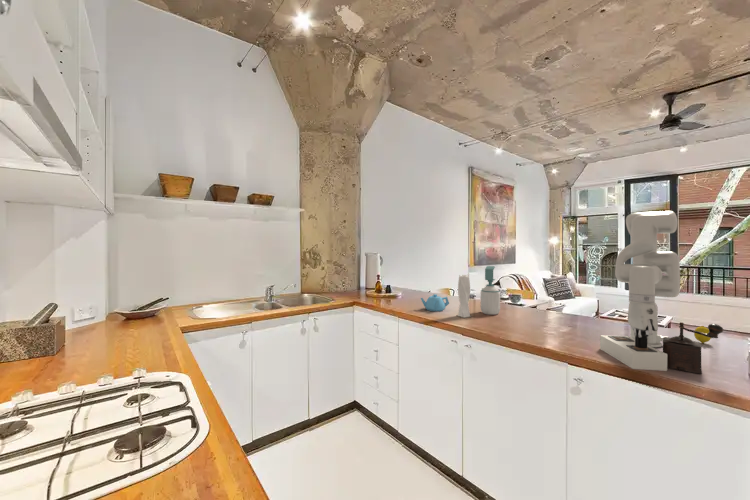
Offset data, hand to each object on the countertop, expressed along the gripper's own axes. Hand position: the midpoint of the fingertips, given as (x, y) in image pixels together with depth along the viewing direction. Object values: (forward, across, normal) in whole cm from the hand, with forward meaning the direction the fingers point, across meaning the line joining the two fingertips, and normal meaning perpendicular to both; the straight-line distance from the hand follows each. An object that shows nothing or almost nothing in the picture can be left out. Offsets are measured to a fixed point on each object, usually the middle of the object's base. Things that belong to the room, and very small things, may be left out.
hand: (641, 347), depth 121 cm
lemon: (+6, +35, -45) cm, 57 cm away
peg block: (+7, +7, 0) cm, 9 cm away
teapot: (+7, +94, +75) cm, 120 cm away
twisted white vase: (+7, +74, +57) cm, 93 cm away
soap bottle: (+6, +87, +39) cm, 95 cm away
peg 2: (+6, 0, 0) cm, 6 cm away
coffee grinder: (+7, -1, -16) cm, 17 cm away
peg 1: (+7, +13, 0) cm, 15 cm away
